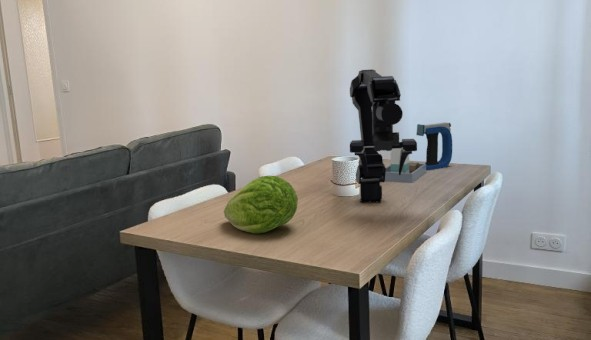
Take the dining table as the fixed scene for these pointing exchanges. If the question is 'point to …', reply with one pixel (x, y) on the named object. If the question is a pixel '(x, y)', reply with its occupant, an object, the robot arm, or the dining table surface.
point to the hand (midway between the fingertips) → (383, 175)
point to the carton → (395, 161)
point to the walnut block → (413, 166)
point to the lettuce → (262, 205)
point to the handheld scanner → (432, 144)
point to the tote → (404, 175)
